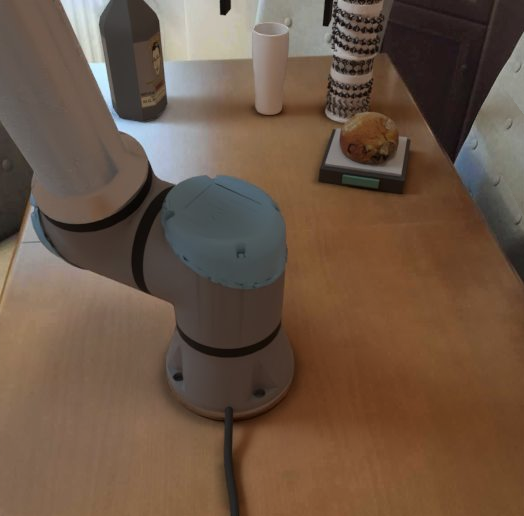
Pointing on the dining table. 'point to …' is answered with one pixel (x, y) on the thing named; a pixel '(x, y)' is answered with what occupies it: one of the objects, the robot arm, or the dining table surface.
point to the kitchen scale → (364, 168)
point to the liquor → (133, 59)
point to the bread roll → (369, 138)
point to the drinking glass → (269, 65)
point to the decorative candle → (353, 57)
